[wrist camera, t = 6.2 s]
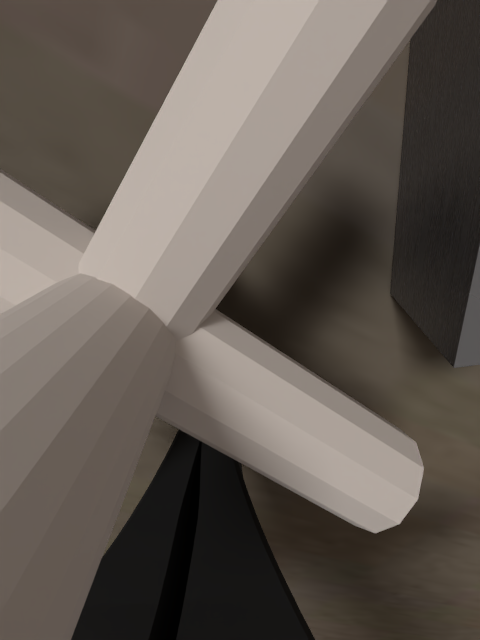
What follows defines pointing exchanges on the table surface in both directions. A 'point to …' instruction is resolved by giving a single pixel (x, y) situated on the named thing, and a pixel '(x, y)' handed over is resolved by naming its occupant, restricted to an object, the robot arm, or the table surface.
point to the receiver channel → (442, 183)
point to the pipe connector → (184, 305)
